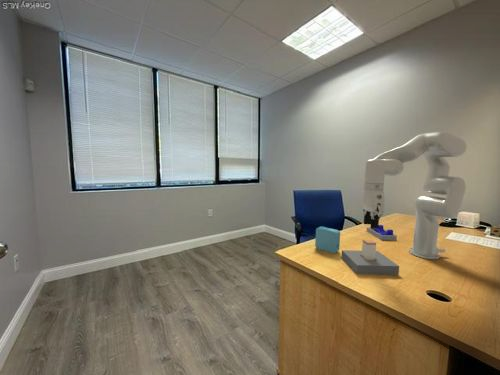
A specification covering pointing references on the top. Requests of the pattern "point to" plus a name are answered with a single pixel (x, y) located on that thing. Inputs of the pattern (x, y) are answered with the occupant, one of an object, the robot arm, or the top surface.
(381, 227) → the cable clip
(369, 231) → the desk tray
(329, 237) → the data package
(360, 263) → the socket plate
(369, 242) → the plug
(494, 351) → the top surface
